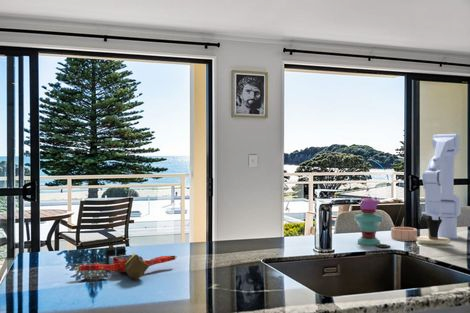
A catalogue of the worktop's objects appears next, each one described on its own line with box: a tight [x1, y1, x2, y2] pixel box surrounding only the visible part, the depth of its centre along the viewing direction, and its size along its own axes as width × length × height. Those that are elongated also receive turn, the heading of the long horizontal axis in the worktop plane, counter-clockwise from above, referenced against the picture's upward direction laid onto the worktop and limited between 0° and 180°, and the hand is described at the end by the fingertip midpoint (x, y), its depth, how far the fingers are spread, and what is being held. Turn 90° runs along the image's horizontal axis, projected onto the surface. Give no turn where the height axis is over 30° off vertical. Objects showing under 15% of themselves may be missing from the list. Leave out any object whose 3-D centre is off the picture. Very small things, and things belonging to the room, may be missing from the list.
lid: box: [416, 230, 451, 244], centre depth 176 cm, size 12×12×5 cm
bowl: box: [390, 226, 418, 242], centre depth 188 cm, size 10×10×4 cm
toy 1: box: [74, 245, 178, 281], centre depth 139 cm, size 31×8×30 cm
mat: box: [415, 240, 454, 249], centre depth 176 cm, size 12×12×1 cm
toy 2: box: [354, 197, 384, 247], centre depth 180 cm, size 11×11×18 cm
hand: (433, 236), depth 176 cm, fingers closed on lid, 3 cm apart
